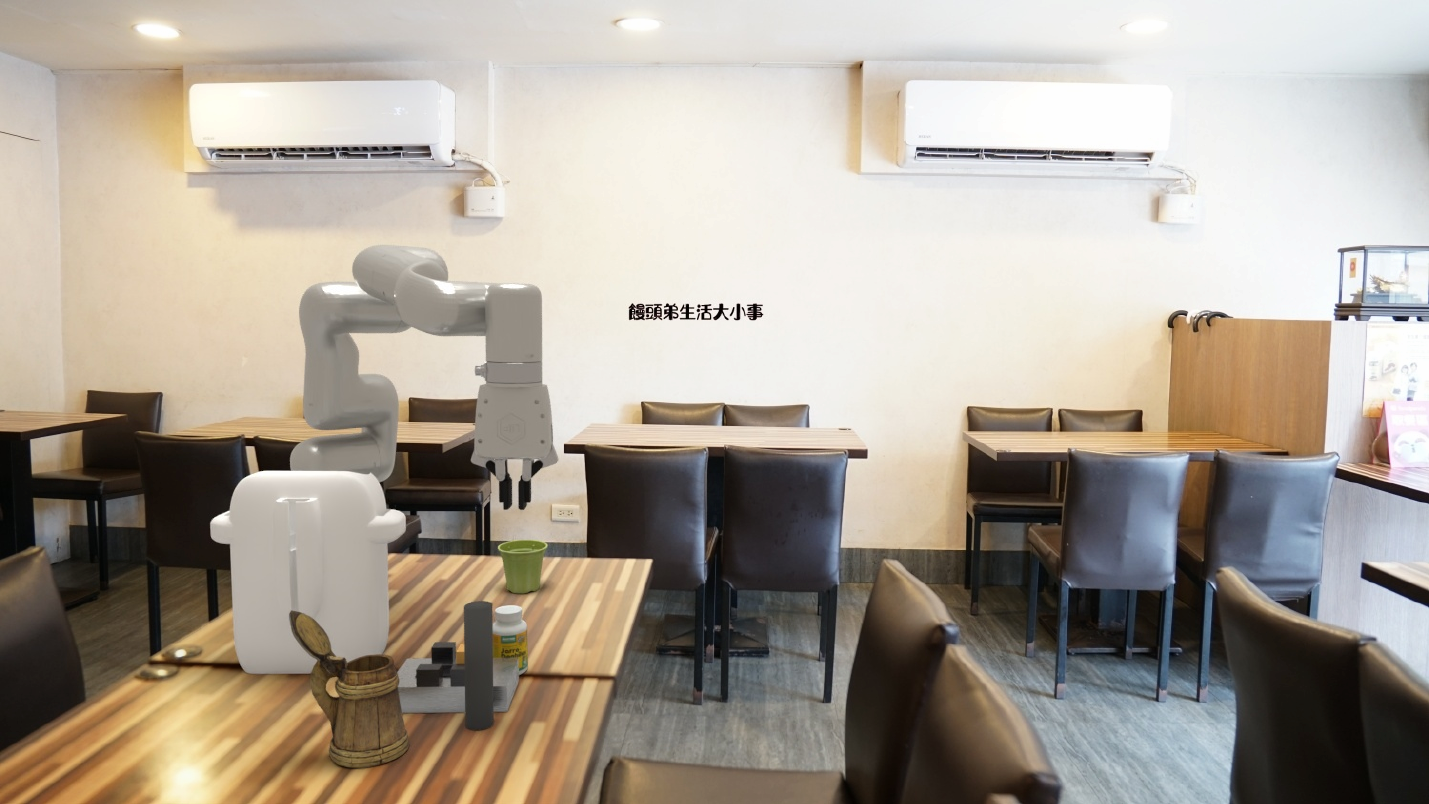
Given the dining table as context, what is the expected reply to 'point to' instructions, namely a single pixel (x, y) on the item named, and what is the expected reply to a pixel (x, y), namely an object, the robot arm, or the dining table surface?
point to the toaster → (308, 564)
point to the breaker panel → (450, 682)
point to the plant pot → (522, 564)
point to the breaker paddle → (460, 654)
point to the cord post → (478, 665)
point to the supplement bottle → (510, 635)
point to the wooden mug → (355, 699)
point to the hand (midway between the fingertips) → (515, 507)
